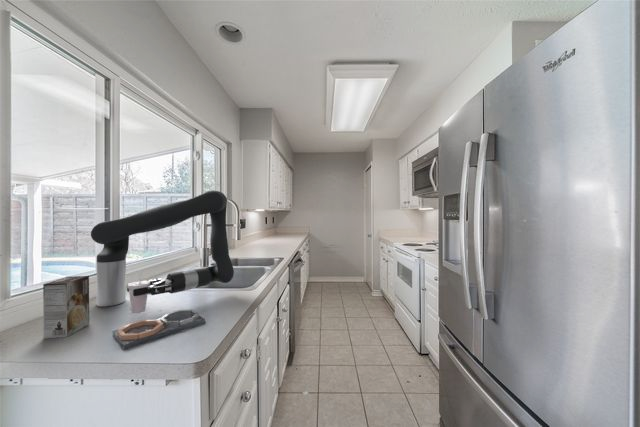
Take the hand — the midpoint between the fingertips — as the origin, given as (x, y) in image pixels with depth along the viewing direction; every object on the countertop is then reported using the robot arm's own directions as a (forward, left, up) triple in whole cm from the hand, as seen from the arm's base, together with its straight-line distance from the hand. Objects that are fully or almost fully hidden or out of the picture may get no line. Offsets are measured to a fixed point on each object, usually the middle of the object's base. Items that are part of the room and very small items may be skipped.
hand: (130, 290), depth 86 cm
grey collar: (+14, +10, -9) cm, 20 cm away
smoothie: (0, +2, -8) cm, 8 cm away
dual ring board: (+14, +5, -10) cm, 18 cm away
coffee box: (-7, -14, -11) cm, 19 cm away
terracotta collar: (+14, -1, -9) cm, 17 cm away
